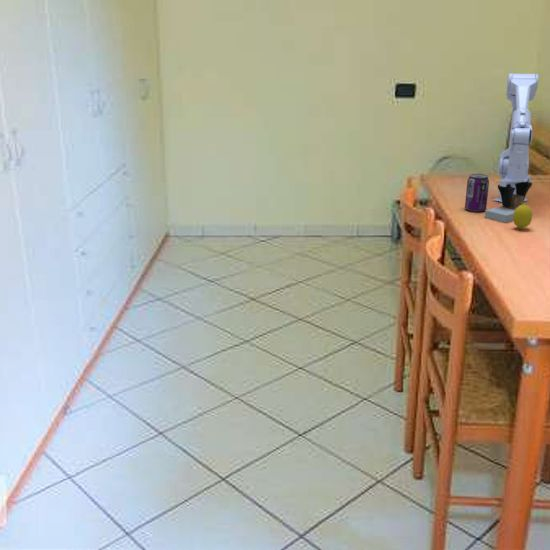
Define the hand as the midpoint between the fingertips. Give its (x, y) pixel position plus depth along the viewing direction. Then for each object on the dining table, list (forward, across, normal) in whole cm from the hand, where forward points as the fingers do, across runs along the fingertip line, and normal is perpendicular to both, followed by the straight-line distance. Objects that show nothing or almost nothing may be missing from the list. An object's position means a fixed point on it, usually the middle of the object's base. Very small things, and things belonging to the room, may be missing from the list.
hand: (512, 204), depth 227 cm
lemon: (+3, -14, -13) cm, 19 cm away
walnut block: (+3, 0, 0) cm, 3 cm away
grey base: (+3, -8, -2) cm, 9 cm away
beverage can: (+3, -6, +10) cm, 12 cm away
